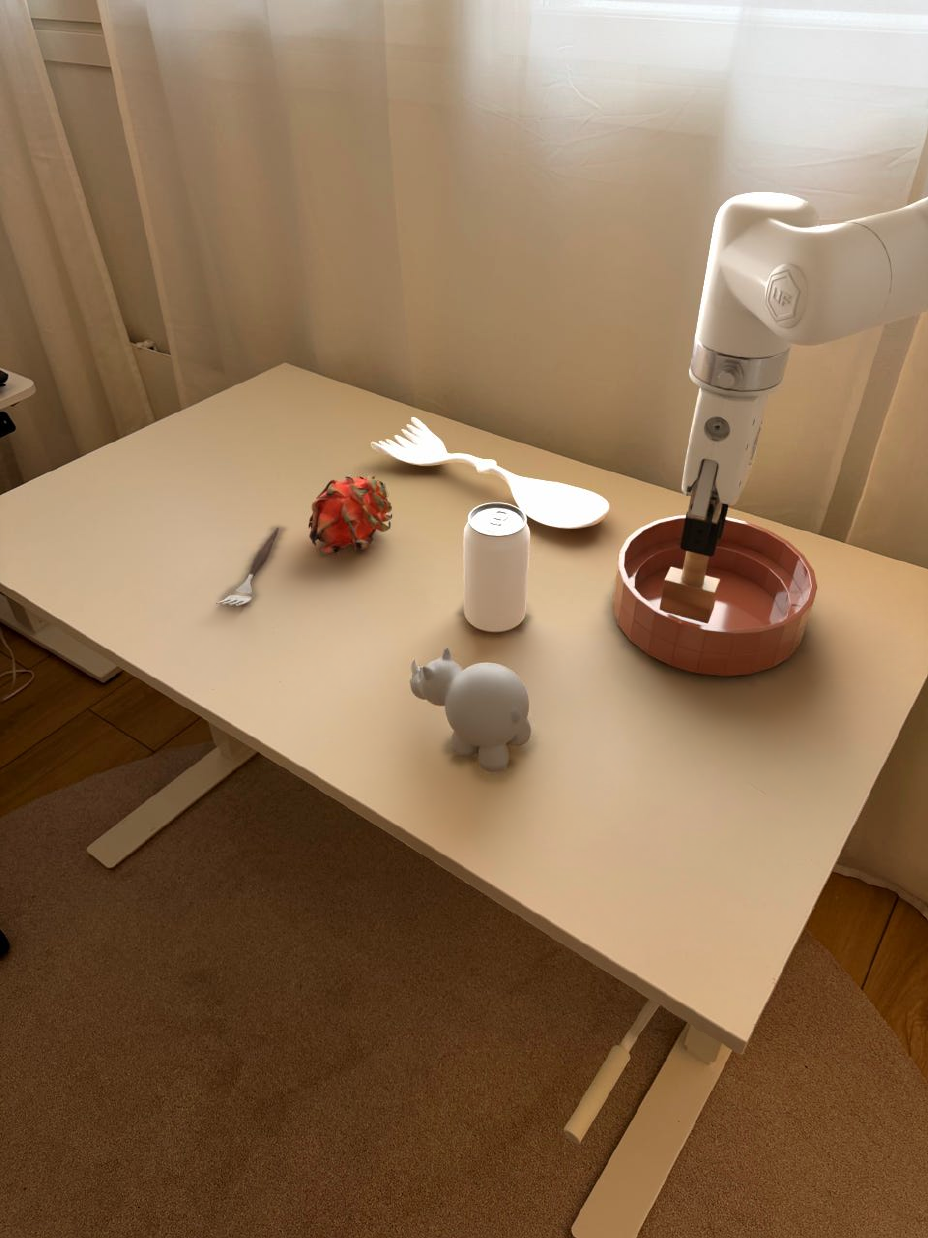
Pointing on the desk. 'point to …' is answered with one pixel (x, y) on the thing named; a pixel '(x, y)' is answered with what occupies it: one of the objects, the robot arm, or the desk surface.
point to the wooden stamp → (690, 589)
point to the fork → (251, 574)
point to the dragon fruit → (349, 513)
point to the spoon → (531, 495)
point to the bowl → (745, 603)
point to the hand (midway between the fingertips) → (701, 541)
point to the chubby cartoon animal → (477, 706)
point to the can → (495, 567)
